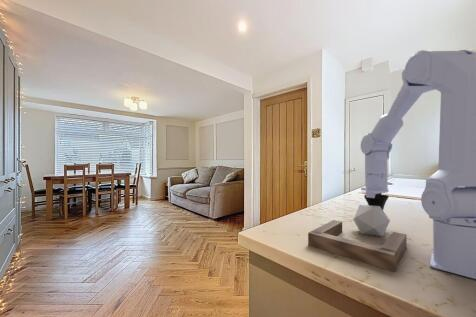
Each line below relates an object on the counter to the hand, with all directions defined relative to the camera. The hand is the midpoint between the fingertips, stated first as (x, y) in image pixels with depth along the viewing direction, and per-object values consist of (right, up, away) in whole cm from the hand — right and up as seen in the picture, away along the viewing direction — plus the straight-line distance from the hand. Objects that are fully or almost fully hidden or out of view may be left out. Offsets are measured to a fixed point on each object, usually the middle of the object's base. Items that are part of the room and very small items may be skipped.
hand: (376, 218), depth 63 cm
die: (-5, -3, -5) cm, 7 cm away
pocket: (-14, -3, -13) cm, 19 cm away
